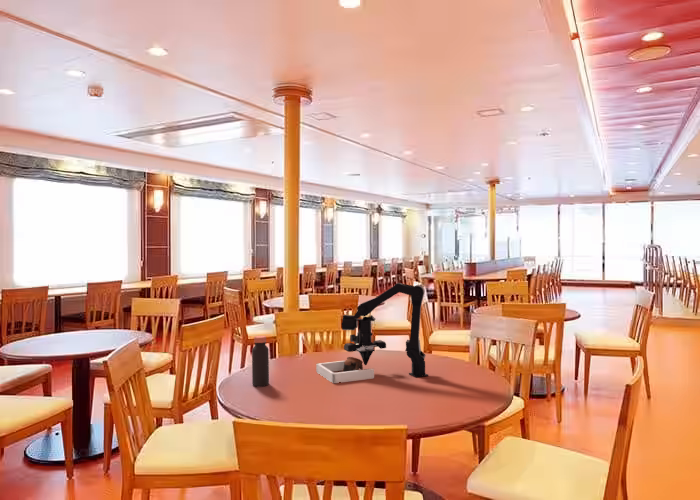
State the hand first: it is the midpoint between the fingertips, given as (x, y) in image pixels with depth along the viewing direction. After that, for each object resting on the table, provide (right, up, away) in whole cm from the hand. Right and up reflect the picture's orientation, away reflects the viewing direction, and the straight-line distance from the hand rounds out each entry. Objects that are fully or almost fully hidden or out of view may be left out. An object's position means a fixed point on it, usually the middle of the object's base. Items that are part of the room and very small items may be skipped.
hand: (365, 364), depth 226 cm
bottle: (-44, -4, -18) cm, 48 cm away
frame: (-9, -4, -4) cm, 11 cm away
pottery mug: (-6, -4, -1) cm, 7 cm away
